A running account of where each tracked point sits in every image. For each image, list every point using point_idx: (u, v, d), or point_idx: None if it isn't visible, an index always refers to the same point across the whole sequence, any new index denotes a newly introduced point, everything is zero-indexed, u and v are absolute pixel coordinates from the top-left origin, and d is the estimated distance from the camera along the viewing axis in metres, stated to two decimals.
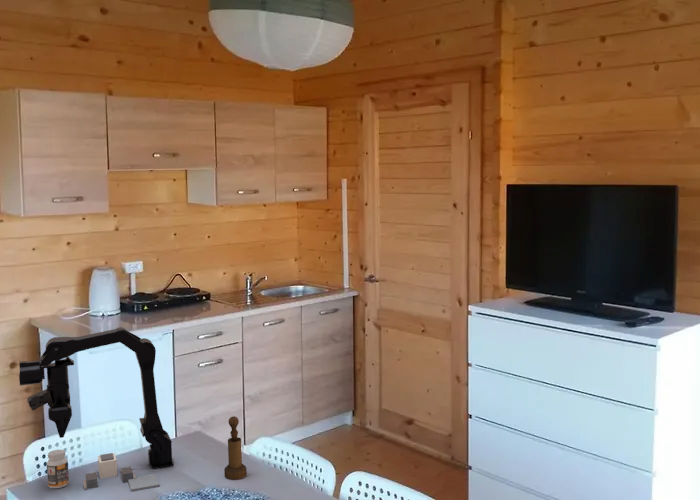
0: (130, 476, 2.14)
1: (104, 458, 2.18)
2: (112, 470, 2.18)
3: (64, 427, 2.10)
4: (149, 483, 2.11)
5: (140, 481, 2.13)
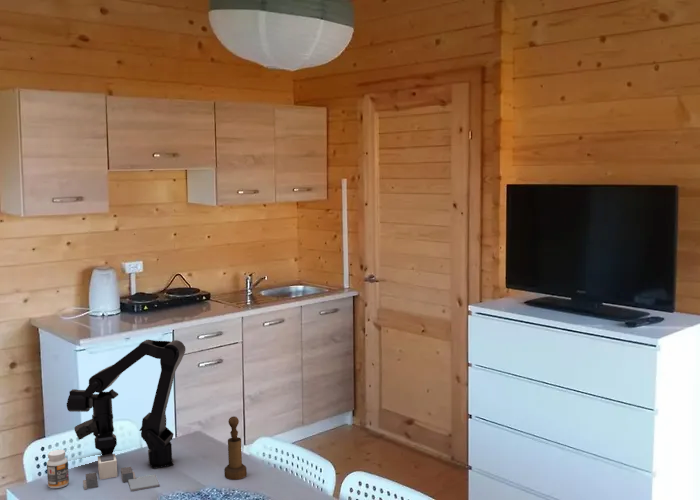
0: (130, 476, 2.14)
1: (104, 459, 2.17)
2: (112, 470, 2.17)
3: None
4: (149, 483, 2.11)
5: (140, 481, 2.13)
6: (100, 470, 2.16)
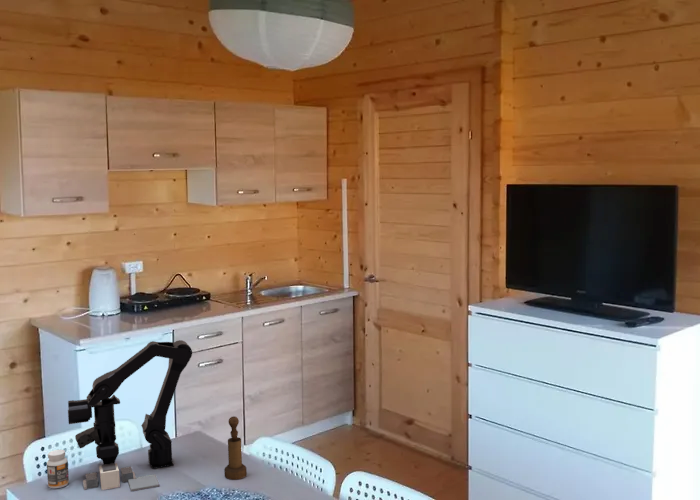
0: (130, 476, 2.14)
1: (106, 468, 2.10)
2: (114, 480, 2.10)
3: None
4: (149, 483, 2.11)
5: (140, 481, 2.13)
6: (102, 480, 2.08)
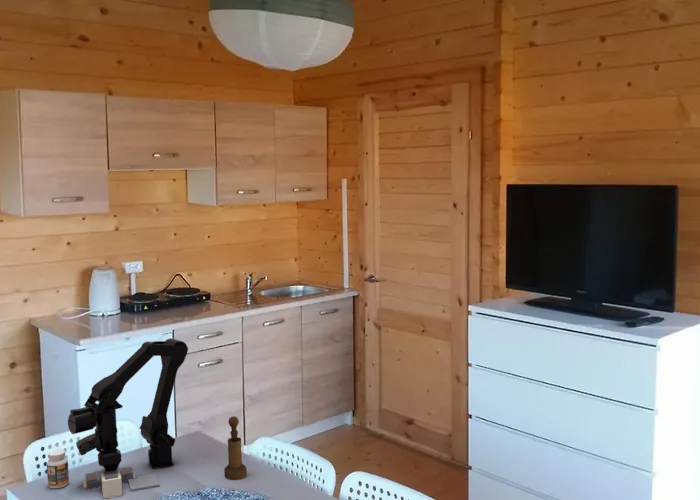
0: (130, 476, 2.14)
1: (108, 476, 2.05)
2: (116, 488, 2.04)
3: None
4: (149, 483, 2.11)
5: (140, 481, 2.13)
6: (104, 488, 2.03)
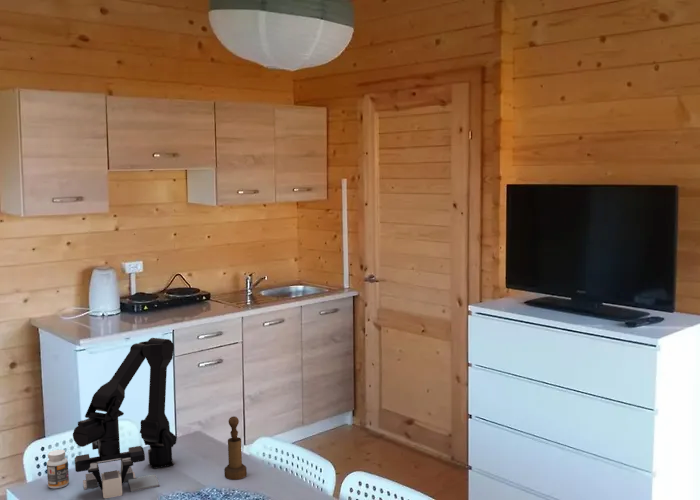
0: (130, 476, 2.14)
1: (108, 476, 2.05)
2: (117, 488, 2.04)
3: None
4: (149, 483, 2.11)
5: (140, 481, 2.13)
6: (104, 488, 2.03)
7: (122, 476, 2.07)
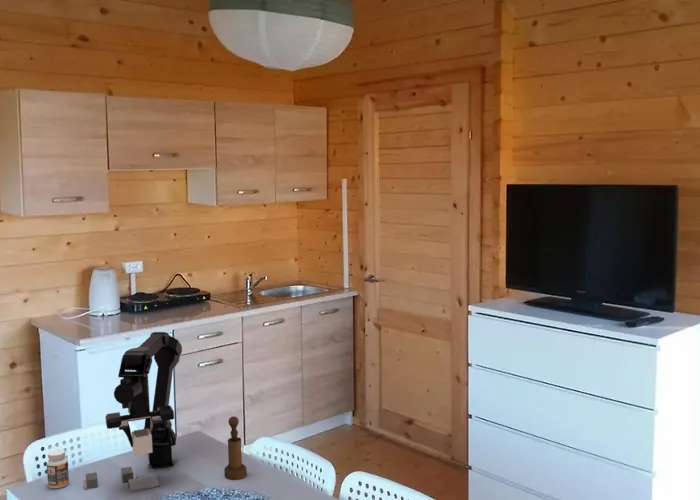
0: (130, 476, 2.14)
1: (138, 434, 2.08)
2: (147, 446, 2.07)
3: (128, 437, 2.09)
4: (149, 483, 2.11)
5: (140, 481, 2.13)
6: (135, 445, 2.06)
7: (152, 434, 2.10)
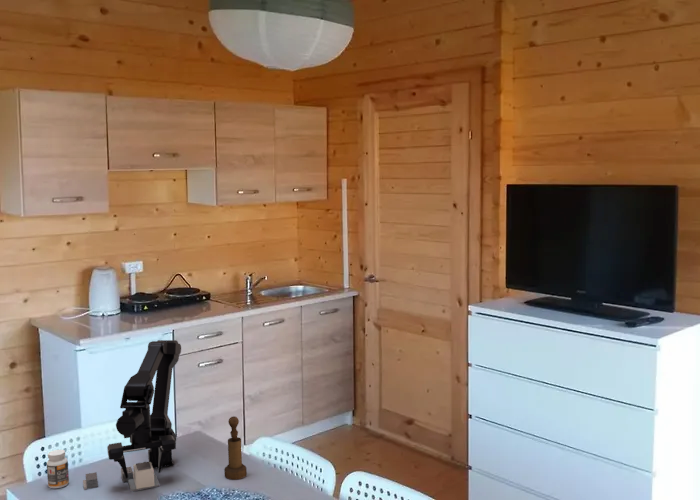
0: (130, 476, 2.14)
1: (140, 467, 2.09)
2: (149, 479, 2.09)
3: (123, 469, 2.09)
4: None
5: None
6: (137, 479, 2.07)
7: (160, 463, 2.12)
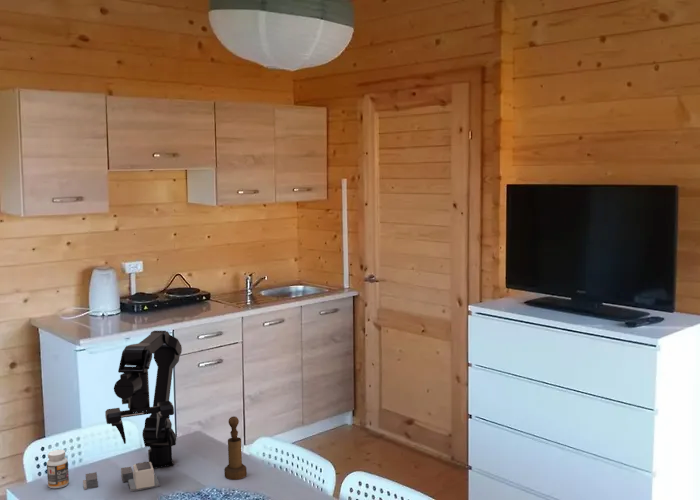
0: (130, 476, 2.14)
1: (140, 467, 2.09)
2: (149, 479, 2.09)
3: (121, 434, 2.08)
4: None
5: None
6: (137, 479, 2.07)
7: (159, 428, 2.11)
